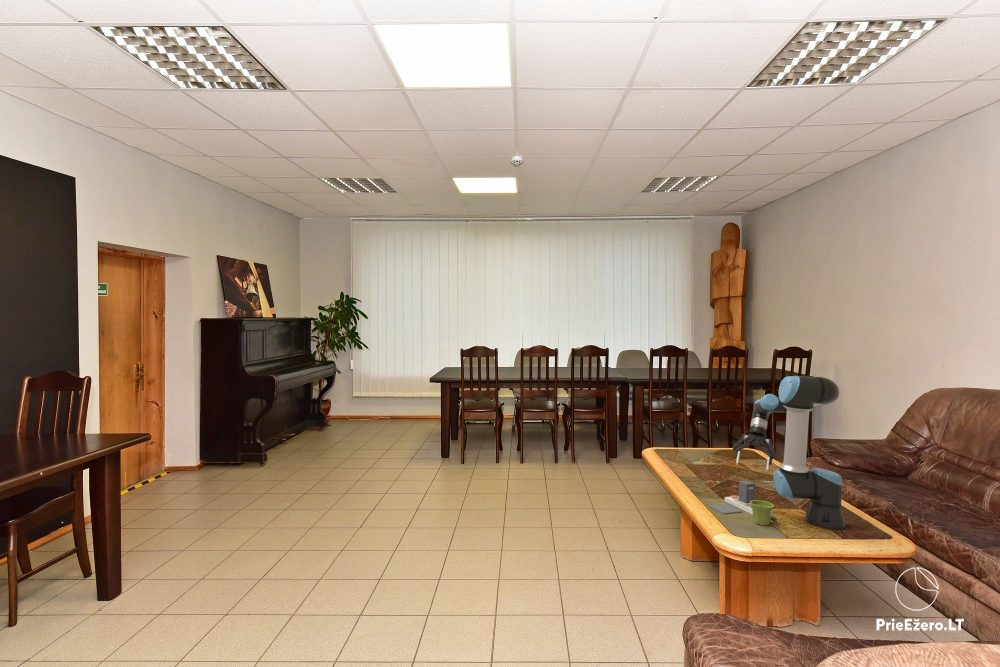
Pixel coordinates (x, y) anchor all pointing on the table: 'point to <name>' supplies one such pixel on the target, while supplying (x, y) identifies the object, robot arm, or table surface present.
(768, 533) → the table surface
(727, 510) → the pad
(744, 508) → the white slab
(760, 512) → the plant pot
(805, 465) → the robot arm
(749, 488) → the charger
